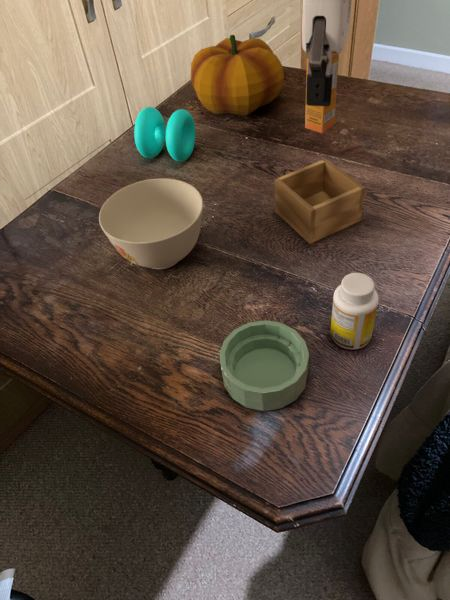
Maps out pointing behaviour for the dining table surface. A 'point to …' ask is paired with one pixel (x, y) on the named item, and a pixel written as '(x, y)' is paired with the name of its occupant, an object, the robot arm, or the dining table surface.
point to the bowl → (153, 221)
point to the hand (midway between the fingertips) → (321, 94)
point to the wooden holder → (318, 200)
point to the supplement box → (323, 115)
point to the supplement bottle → (354, 311)
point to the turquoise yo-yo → (165, 133)
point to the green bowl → (264, 365)
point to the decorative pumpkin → (236, 76)
